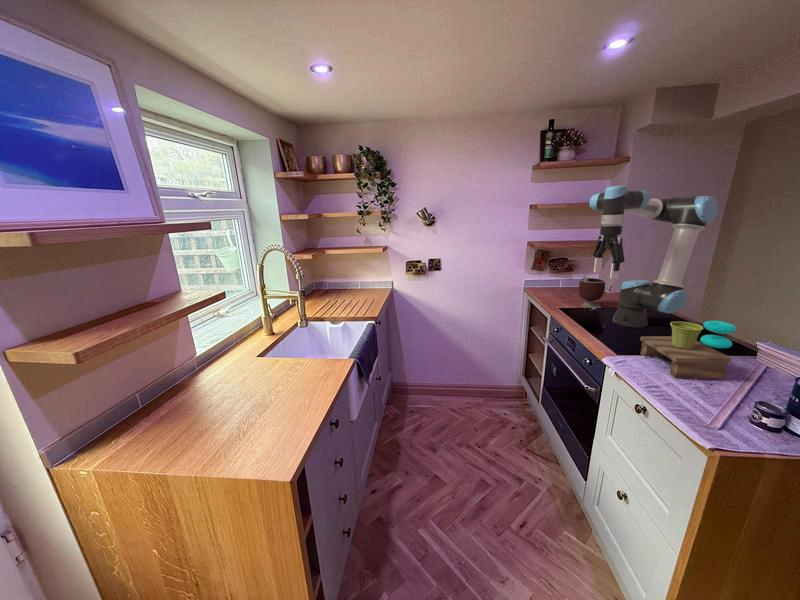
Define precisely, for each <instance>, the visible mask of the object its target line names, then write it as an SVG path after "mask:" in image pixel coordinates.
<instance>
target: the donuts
mask: <svg viewBox="0 0 800 600" xmlns="http://www.w3.org/2000/svg"><path fill="white" fill-rule="evenodd" d="M703 328H704V329H706V330H708V332H712V333H716V334H705V335H702V336H701V337H700V340H699V342H701V343H703V344H705V345H707V346H709V347H711V348H714V349H715V348H716V349H729V348H731V347H732V346H733V342H732V341H731V340H730V339H729V338H727V337H725V336H723V335H722V336H721V335H717V334H724V335H727V334H728V335H729V334H733V333H735V332H736V331H737V327H736V326H735V325H734V324H733V323H730V322H727V321H722V320H707V321H705V322H704V323H703Z"/></svg>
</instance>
